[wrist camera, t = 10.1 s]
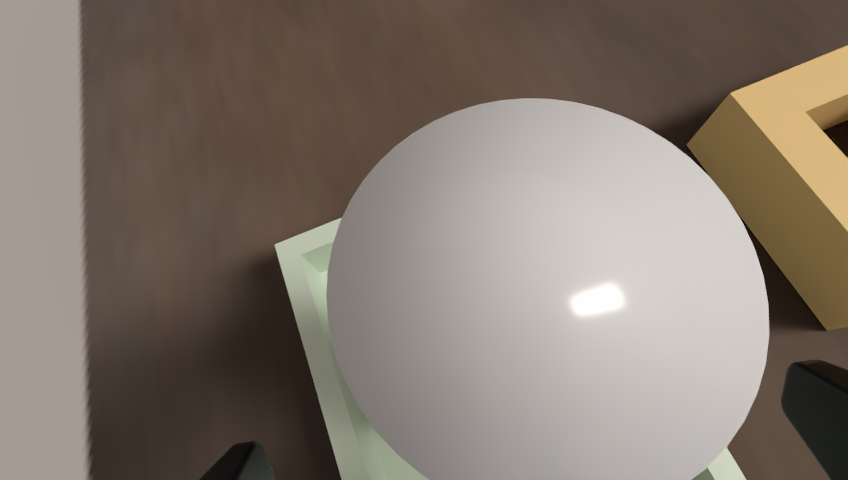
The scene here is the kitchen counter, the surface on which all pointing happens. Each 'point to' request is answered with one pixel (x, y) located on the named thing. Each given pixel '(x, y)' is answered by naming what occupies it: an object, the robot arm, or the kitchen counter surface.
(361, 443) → the parts tray
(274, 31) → the kitchen counter surface
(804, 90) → the tan square frame
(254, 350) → the kitchen counter surface
